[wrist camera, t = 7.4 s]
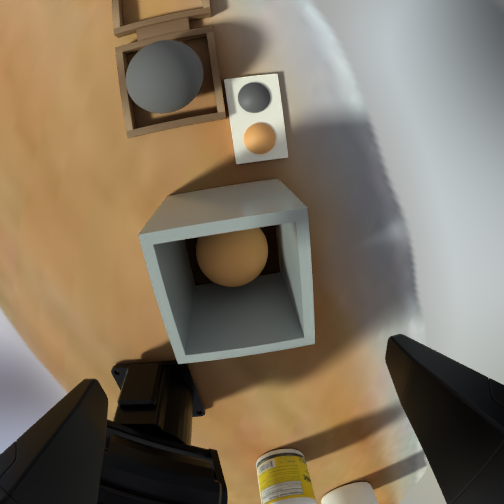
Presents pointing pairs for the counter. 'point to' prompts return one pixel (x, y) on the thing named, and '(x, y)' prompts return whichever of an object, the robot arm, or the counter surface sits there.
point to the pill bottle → (351, 494)
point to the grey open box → (231, 298)
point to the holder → (156, 31)
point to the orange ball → (232, 256)
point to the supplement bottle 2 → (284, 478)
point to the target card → (256, 118)
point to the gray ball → (164, 76)
